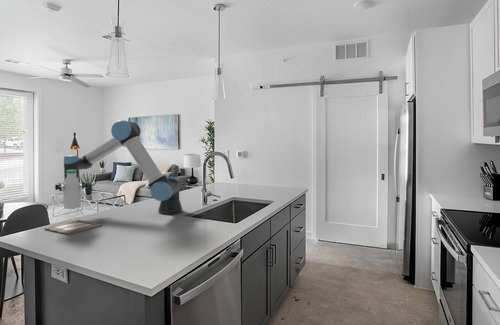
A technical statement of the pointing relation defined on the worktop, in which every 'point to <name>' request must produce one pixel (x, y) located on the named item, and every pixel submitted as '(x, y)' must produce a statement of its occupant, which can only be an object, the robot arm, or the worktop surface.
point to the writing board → (73, 227)
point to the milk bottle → (72, 191)
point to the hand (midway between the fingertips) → (71, 188)
